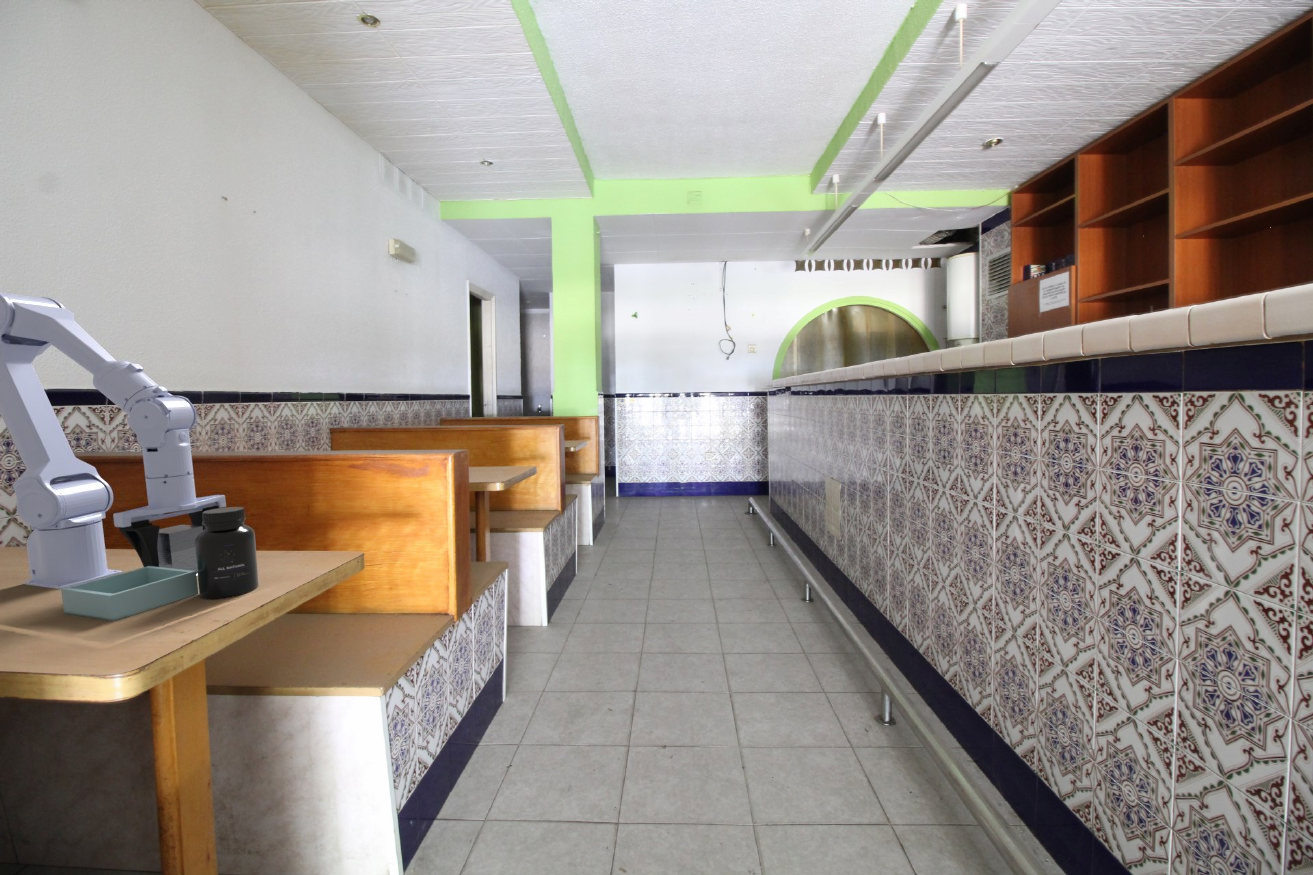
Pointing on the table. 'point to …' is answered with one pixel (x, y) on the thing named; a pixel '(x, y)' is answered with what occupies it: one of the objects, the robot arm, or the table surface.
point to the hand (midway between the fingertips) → (179, 562)
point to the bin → (129, 592)
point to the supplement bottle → (226, 554)
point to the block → (178, 547)
